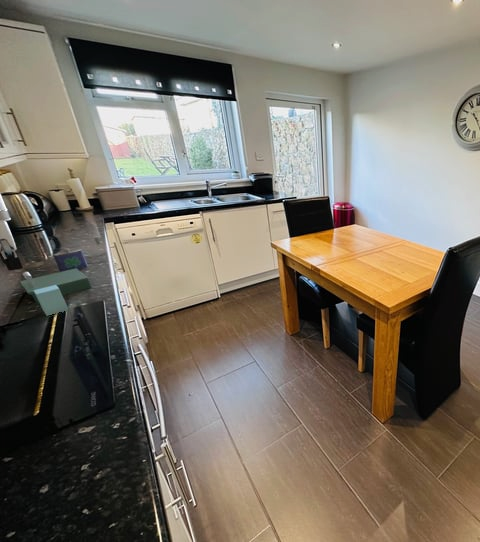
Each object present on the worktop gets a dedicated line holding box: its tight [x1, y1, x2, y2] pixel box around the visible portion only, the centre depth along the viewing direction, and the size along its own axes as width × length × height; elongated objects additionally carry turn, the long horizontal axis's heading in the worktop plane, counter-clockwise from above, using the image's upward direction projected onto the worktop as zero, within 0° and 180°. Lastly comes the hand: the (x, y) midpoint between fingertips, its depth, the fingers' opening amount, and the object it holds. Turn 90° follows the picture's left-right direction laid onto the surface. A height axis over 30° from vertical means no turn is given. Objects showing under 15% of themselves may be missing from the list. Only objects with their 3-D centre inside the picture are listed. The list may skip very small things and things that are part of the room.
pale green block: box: [33, 285, 70, 317], centre depth 93 cm, size 5×4×8 cm
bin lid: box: [19, 269, 89, 296], centre depth 105 cm, size 16×15×5 cm
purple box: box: [53, 247, 89, 272], centre depth 123 cm, size 9×3×11 cm, turn 148°
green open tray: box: [30, 279, 92, 304], centre depth 107 cm, size 15×15×4 cm
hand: (13, 266), depth 96 cm, fingers open, 9 cm apart
